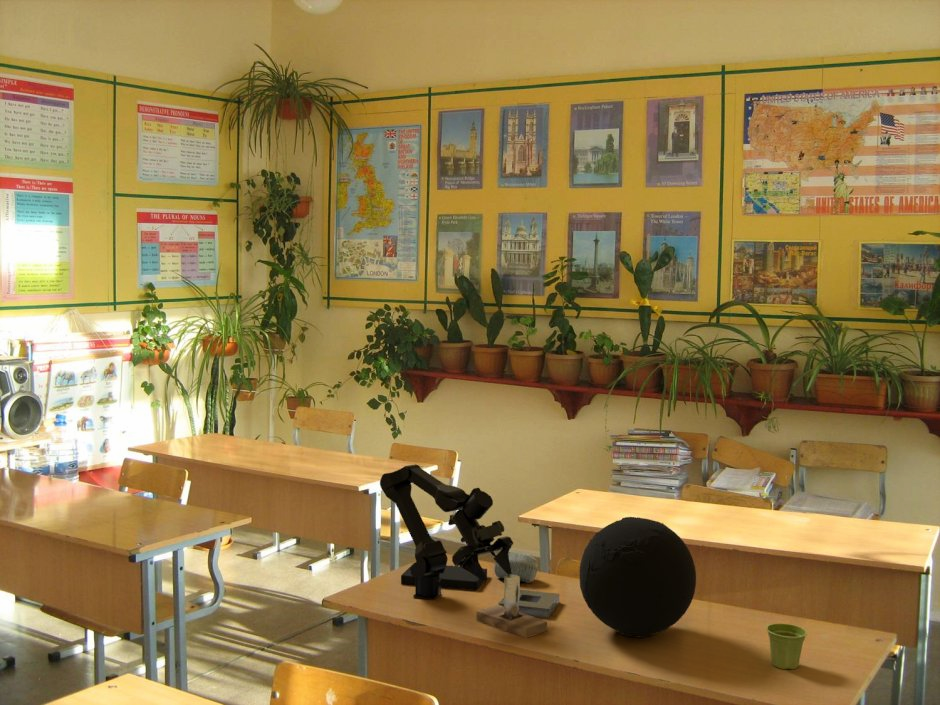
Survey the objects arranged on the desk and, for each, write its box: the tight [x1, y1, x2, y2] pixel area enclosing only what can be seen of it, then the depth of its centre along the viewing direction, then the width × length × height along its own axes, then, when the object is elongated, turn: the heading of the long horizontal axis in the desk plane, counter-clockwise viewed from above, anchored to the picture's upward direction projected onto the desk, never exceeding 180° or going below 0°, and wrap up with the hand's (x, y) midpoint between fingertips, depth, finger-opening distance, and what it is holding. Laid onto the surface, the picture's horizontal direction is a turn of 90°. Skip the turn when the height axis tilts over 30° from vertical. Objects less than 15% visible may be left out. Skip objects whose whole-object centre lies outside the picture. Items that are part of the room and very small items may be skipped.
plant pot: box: [766, 622, 808, 670], centre depth 245 cm, size 9×9×9 cm
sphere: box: [578, 516, 697, 638], centre depth 265 cm, size 30×30×30 cm
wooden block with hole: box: [475, 604, 548, 639], centre depth 270 cm, size 18×8×2 cm, turn 44°
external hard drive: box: [400, 562, 488, 591], centre depth 309 cm, size 14×23×3 cm, turn 77°
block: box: [497, 589, 560, 619], centre depth 285 cm, size 14×14×2 cm
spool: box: [493, 552, 539, 584], centre depth 311 cm, size 14×10×10 cm
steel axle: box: [503, 575, 521, 620], centre depth 270 cm, size 4×4×13 cm
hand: (498, 577), depth 273 cm, fingers open, 9 cm apart
